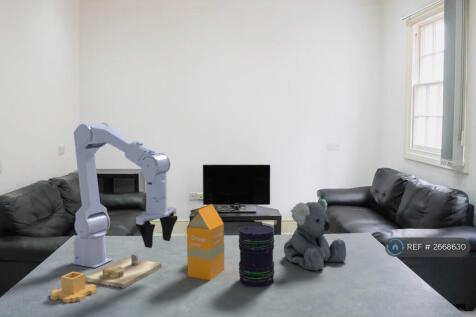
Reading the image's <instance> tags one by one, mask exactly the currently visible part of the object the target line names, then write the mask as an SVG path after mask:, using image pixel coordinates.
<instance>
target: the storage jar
mask: <svg viewBox="0 0 476 317" xmlns="http://www.w3.org/2000/svg"><path fill="white" fill-rule="evenodd" d="M274 232H275V228H274V227H273V226H270V225H266V224H265V225H264V224H246V225H243V226H240V227H239V229H238V233H239V234H238V249H239V261H238V262H239V263H238V266H239V267H238V272H239V274H238V275H239V284H240V285H242V286H244V287H248V288H252V289H253V288H254V289H255V288H256V289H257V288H258V289H260V288H266V287H271V286H272V285H273V284H274V282H275V279H274V278H275V262H274V249H275V236H274V235H275V234H274Z"/></svg>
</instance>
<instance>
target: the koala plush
mask: <svg viewBox="0 0 476 317" xmlns="http://www.w3.org/2000/svg"><path fill="white" fill-rule="evenodd" d="M327 209H328V203H327V201H326V199H323V198H320V199H318V200H317V201H310V202H306V203H303V202H302V201H301V202H298V203H296V204H295V205H294V206H293V208H292V209H291V210H290V213H291V218H292V220H293V221H294V222H295V223H296V226H297V227H296V229H295V231H294V233H293V234H292V235H291V237H290V238H289V239H288V240H287V241H286V242H285V243H284V245H283V253H284V256H285V258H286V259H287V260H288V261H289V262H290V263H293V264H298V265H299V266H300V267H301V268H304V269H306V270H309V271H315V272H316V271H317V272H318V271H321V269H323V268H324V265H325V264H324V262H329V263H343V262H345V261H346V257H347V246H346V242H345V241H344V239H339V238H338V239H335V240H333V241H332V242H331V244H330V245H329V243H328V240H327V238H326V237H325V236H324V235H325V234H326V233H327V232H328V231H329V230H330V229H331V225H330V222H329V219H328V216H327V213H326V211H327Z"/></svg>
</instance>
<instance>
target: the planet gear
mask: <svg viewBox="0 0 476 317" xmlns="http://www.w3.org/2000/svg"><path fill="white" fill-rule="evenodd" d="M85 276H86V273H82V272H78V271H71V272H69V273H65V274H64V275H61V277H60V284H61V285H60V286H61V288H59V289H57V288H55V289H52V290H51V291H50V297H49V298H50V300H52V301H53V300H54V301H56V300H59V299H60V300H63V301H62V302H63V303H67V304H69V303H71V302H73V303H75V302H76V301H77V302H81V301H83V300H85V299H86V298H85V297H87V296H89V295H92V294H93V295H95V294H96V293H98V292H97V291H98V290H97V285H96V284H95V283H94V284H93V283H90V284H86V281H85ZM94 293H95V294H94Z"/></svg>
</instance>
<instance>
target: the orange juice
mask: <svg viewBox="0 0 476 317" xmlns="http://www.w3.org/2000/svg"><path fill="white" fill-rule="evenodd" d="M224 223H225V222H223V220H222V218H221V216H220V215H219V213H218V211H217V210H216V209H215V206H214V205H213V204H212V203H210V204H208V205H206V206H203V207H200V208H199V209H197V210H196V212H195V214H194V215H193V216H192V218H191V219H190V221H189V223H188V225H187V226H186V244H187V248H186V249H187V250H186V251H187V252H186V255H187V256H186V257H187V277H189V278H190V277H191V278H196V279H202V280H208V281H211V280H213V279H214V278H216V277H217V276H218V275H220V274H221V273H223V272H224V271H225V224H224Z"/></svg>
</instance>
